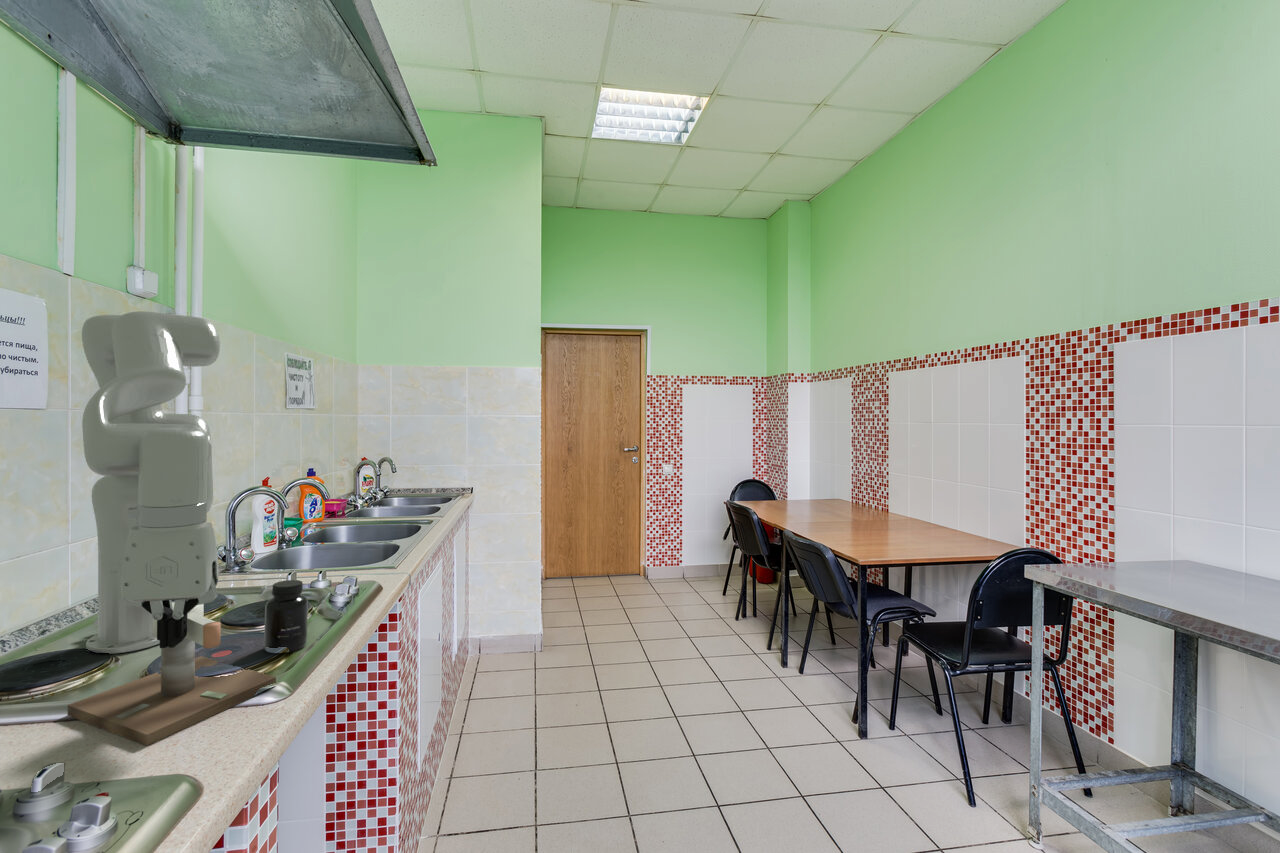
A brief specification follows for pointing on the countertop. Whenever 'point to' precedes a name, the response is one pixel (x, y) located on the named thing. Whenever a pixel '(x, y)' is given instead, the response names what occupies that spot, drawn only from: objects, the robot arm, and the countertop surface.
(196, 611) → the cream orange-tipped lever
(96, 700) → the base
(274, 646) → the supplement bottle
